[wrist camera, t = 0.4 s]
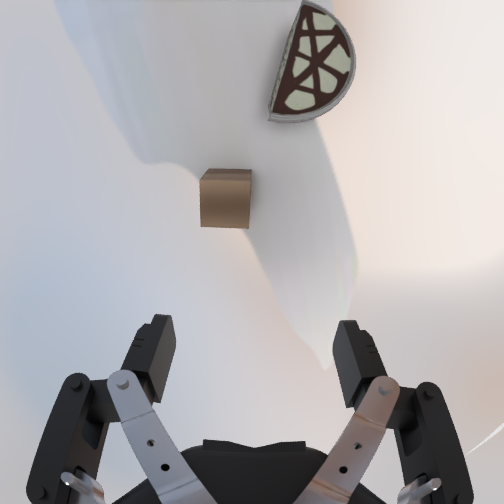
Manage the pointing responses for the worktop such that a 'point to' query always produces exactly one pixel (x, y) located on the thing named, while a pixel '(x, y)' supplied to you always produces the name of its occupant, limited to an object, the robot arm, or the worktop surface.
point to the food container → (312, 67)
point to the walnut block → (225, 198)
